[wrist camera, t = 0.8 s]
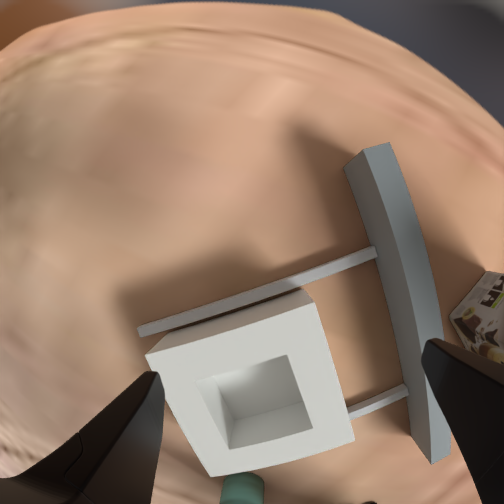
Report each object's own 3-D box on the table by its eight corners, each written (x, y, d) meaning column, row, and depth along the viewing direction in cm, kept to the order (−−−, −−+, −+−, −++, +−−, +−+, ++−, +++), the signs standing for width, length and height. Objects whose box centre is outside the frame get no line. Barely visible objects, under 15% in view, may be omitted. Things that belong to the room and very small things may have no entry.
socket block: (340, 407, 22) (355, 440, 17) (218, 441, 23) (210, 477, 18) (303, 288, 22) (314, 301, 17) (167, 333, 23) (144, 355, 18)
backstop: (428, 427, 22) (450, 453, 17) (229, 492, 23) (223, 526, 18) (365, 161, 22) (389, 142, 17) (115, 251, 23) (81, 253, 18)
